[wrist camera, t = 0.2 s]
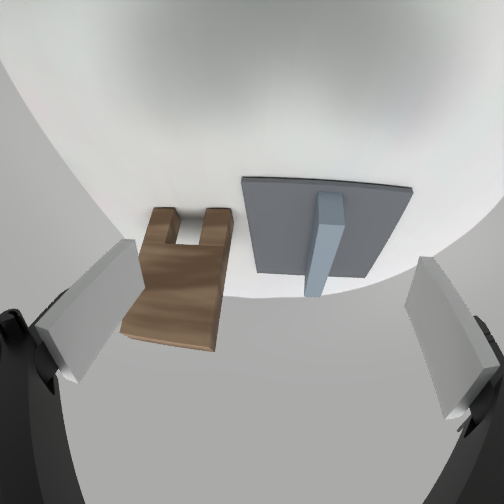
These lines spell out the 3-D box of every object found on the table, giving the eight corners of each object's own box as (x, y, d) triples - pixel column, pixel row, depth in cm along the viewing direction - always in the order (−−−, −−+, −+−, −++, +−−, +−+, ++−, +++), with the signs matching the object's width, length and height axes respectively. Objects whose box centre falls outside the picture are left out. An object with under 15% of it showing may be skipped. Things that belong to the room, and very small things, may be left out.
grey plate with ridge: (241, 177, 29) (235, 214, 27) (412, 188, 27) (421, 225, 25) (257, 269, 48) (254, 295, 46) (364, 274, 46) (366, 300, 44)
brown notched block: (153, 208, 35) (119, 332, 28) (230, 209, 34) (208, 347, 27) (161, 221, 38) (132, 338, 31) (233, 223, 37) (214, 351, 29)
